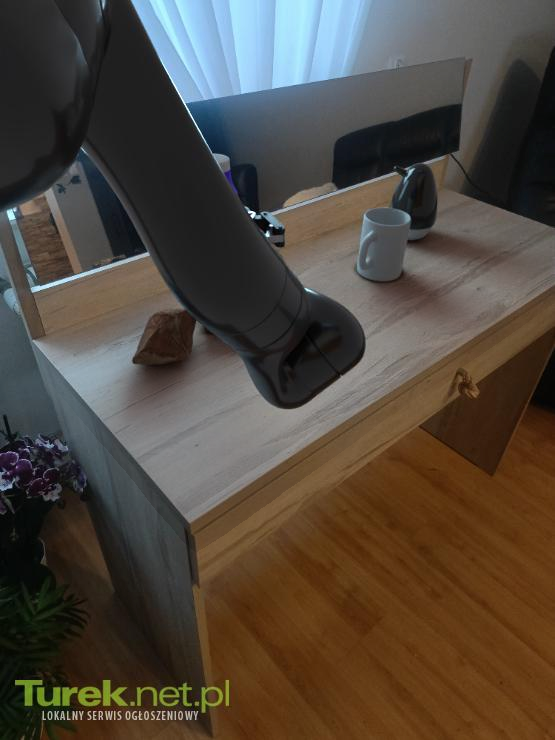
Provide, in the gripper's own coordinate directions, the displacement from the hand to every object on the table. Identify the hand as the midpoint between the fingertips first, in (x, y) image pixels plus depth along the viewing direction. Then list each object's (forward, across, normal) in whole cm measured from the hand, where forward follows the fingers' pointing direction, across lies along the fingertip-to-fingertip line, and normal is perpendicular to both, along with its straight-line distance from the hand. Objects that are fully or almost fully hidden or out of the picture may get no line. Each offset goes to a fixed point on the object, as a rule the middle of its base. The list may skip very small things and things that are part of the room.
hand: (212, 213), depth 67 cm
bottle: (-2, 0, +10) cm, 10 cm away
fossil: (-3, +9, +20) cm, 22 cm away
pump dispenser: (+22, -48, +20) cm, 56 cm away
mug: (+9, -33, +20) cm, 39 cm away
